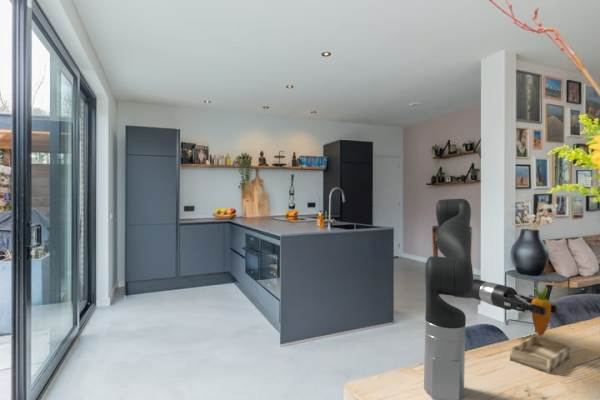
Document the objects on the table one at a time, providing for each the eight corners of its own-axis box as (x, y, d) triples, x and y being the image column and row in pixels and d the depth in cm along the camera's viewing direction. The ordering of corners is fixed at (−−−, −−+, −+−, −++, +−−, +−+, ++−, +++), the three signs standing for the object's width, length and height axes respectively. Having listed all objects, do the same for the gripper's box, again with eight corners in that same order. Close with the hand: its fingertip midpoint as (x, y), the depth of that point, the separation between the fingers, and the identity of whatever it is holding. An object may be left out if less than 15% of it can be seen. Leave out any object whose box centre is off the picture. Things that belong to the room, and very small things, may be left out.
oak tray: (549, 373, 97) (549, 361, 97) (510, 360, 104) (510, 348, 104) (570, 357, 107) (570, 345, 107) (533, 346, 115) (533, 335, 115)
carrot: (531, 336, 105) (533, 287, 105) (529, 331, 110) (531, 283, 109) (551, 340, 103) (553, 289, 103) (548, 334, 107) (550, 286, 107)
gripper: (483, 286, 116) (536, 300, 101) (511, 282, 122) (565, 295, 107) (482, 308, 116) (535, 326, 101) (511, 303, 122) (564, 320, 107)
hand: (550, 310), depth 104 cm, fingers closed on carrot, 5 cm apart
